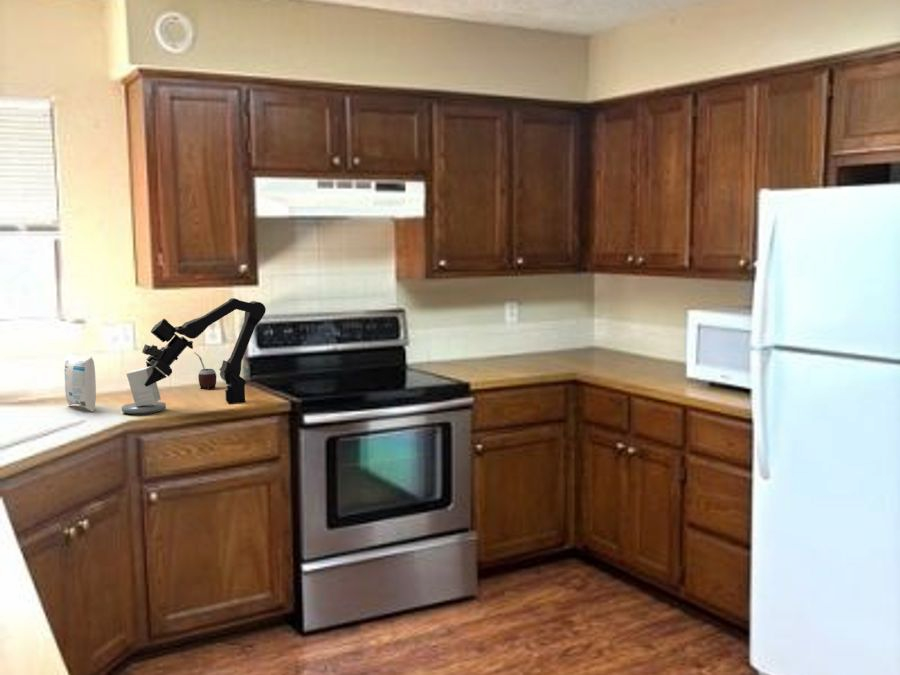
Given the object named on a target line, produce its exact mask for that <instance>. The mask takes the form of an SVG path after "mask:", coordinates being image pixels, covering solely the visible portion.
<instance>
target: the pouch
mask: <svg viewBox="0 0 900 675" xmlns="http://www.w3.org/2000/svg"><path fill="white" fill-rule="evenodd" d="M96 379H97V378H96V366H95V361H94V359H93V357H92V356H90V357H88V358H80V357H76V356H75V355H73V354H71V353H69V352H67V354H66V357H65V361H64V391H65V398H66V402H67V404H68V405H69V406H72V405H79V406H80V407H83V408H85V409H86V410H88V411H91V413H93V412H94V410H95V408H96V400H97V398H96V397H97V395H96V394H97V387H96V382H97V381H96Z"/></svg>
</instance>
